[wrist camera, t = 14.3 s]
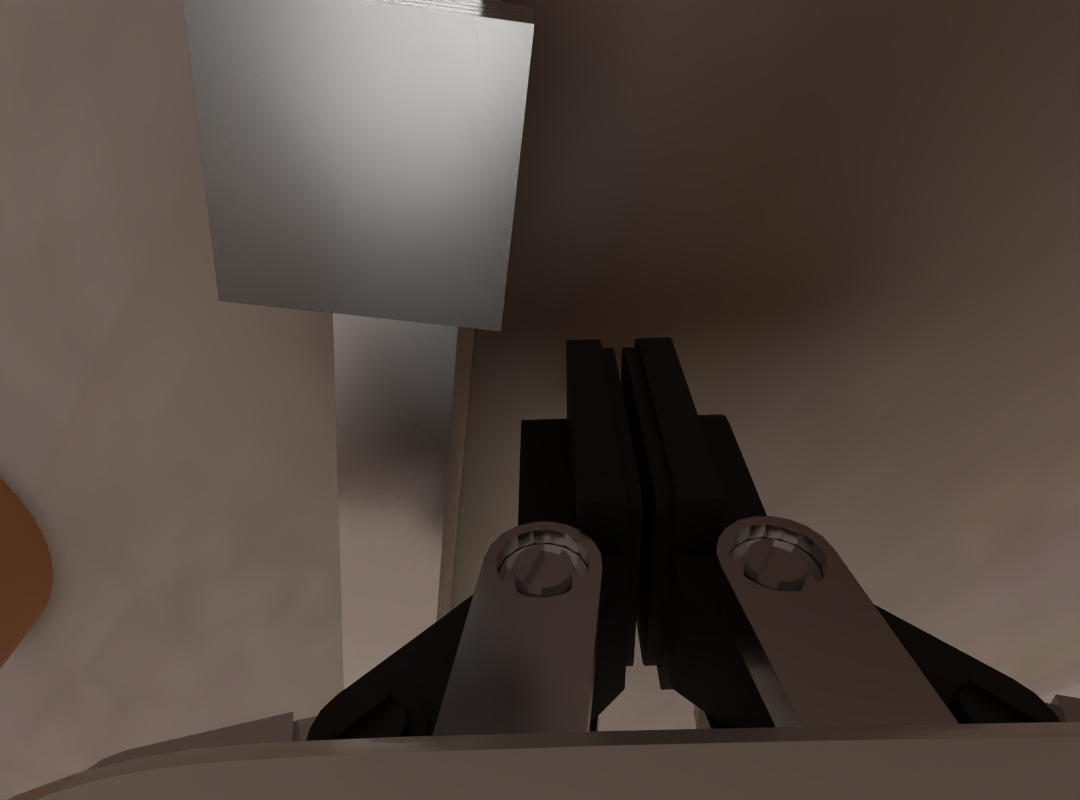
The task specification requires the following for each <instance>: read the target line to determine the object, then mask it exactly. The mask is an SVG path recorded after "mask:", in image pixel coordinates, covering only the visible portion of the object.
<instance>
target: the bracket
mask: <svg viewBox="0 0 1080 800" xmlns="http://www.w3.org/2000/svg"><path fill="white" fill-rule="evenodd" d="M52 579H53V572H52V563H51V558H50V554H49V550H48V547H47V544H46V542H45V540H44V537H43V535H42V533H41V531H40V529H39V527H38V525H37V524H36V522H35V520H34V518H33V517H32V515H31V514H30V513H29V511H28V510H27V508H26V507H25V506H24V504H23V503H22V501H21V500H20V499H19V498H18V497H17V496H16V495H15V493H14V492H13V491H12V490H11V489H10V488H9V486H7V485H6V484H5V483H4V482H3V481H2V480H1V479H0V669H1V667H2V666H3V665H4V663H5V662H6V660H7V659H8V658H9V656H10V655H11V654H12V652H13V651H14V650H15V648H16V647H17V646H18V644H19V643H20V642H21V640H22V639H23V637H24V636H25V635H26V633H27V632H28V631H29V629H30V628H31V627H32V625H33V624H34V623H35V621H36V620H37V619H38V617H39V616H40V614H41V613H42V611H43V610H44V609H45V606H46V604H47V602H48V600H49V597H50V593H51V589H52Z"/></svg>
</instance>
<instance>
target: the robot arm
mask: <svg viewBox="0 0 1080 800" xmlns="http://www.w3.org/2000/svg"><path fill="white" fill-rule="evenodd" d="M566 368H567V419H542V420H522V421H521V448H520V480H519V513H518V526H516V527H514V528H512V529H511V530H509V531H507V532H505V533H503V534H501V535H500V536H499V537H498V538H497V539H496V540H495V541H494V542H493V543H492V544H491V545H490V547H489V549H488V551H487V553H486V555H485V557H484V560H483V564H482V567H481V571H480V574H479V578H478V581H477V585H476V588H475V591H474V594H473V595H472V596H471V597H469V598H468V599H467V600H465V601H464V602H462V603H461V604H460V605H458V606H457V607H456V608H454V609H453V610H452V611H450V612H449V613H448V614H446V615H445V616H443V617H442V618H441V619H439V620H438V621H437V622H435V623H434V624H433V625H431V626H430V627H429V628H427V629H426V630H424V631H423V632H422V633H420V634H419V635H418V636H416V637H415V638H414V639H412V640H411V641H410V642H408V643H407V644H405V645H404V646H403V647H401V648H400V649H399V650H397V651H396V652H395V653H393V654H392V655H391V656H389V657H388V658H386V659H385V660H384V661H382V662H381V663H380V664H378V665H377V666H376V667H374V668H373V669H372V670H370V671H369V672H367V673H366V674H365V675H363V676H362V677H361V678H359V679H358V680H357V681H355V682H354V683H353V684H351V685H350V686H348V687H347V688H346V689H344V690H343V691H342V692H340V693H339V694H338V695H336V696H335V697H334V698H333V699H332V700H331V701H330V702H329V703H328V704H327V705H326V706H325V707H324V708H323V709H322V710H321V711H320V713H319V714H318V716H314V717H310V718H306V719H302V720H296V717H295V715H294V712H290V713H286V714H281V715H277V716H273V717H268V718H264V719H260V720H255V721H251V722H247V723H242V724H238V725H234V726H229V727H225V728H221V729H216V730H212V731H208V732H203V733H199V734H195V735H190V736H186V737H182V738H177V739H173V740H169V741H164V742H160V743H156V744H151V745H147V746H143V747H138V748H134V749H130V750H126V751H123V752H120V753H118V754H115V755H113V756H110V757H107V758H105V759H102V760H101V761H99V762H98V763H96V764H95V765H93V766H92V767H90V768H89V769H88V770H86V771H84V772H80V773H76V774H73V775H70V776H67V777H65V778H62V779H59V780H57V781H54V782H51V783H48V784H46V785H43V786H40V787H38V788H35V789H32V790H29V791H27V792H24V793H21V794H19V795H16V796H13V797H11V798H9V799H7V800H1080V698H1074V697H1068V696H1062V695H1055V697H1054V698H1053V700H1052V702H1051V704H1049V703H1045V702H1044V701H1042V700H1041V699H1040V698H1039V697H1038V696H1037V695H1036V694H1035V693H1034V692H1032V691H1031V690H1029V689H1028V688H1026V687H1024V686H1023V685H1021V684H1020V683H1018V682H1017V681H1015V680H1014V679H1012V678H1010V677H1008V676H1006V675H1005V674H1003V673H1001V672H999V671H997V670H995V669H993V668H992V667H990V666H988V665H986V664H984V663H982V662H980V661H978V660H977V659H975V658H973V657H971V656H969V655H967V654H965V653H964V652H962V651H960V650H958V649H956V648H954V647H952V646H951V645H949V644H947V643H945V642H943V641H941V640H939V639H937V638H936V637H934V636H932V635H930V634H928V633H926V632H924V631H923V630H921V629H919V628H917V627H915V626H913V625H911V624H909V623H908V622H906V621H904V620H902V619H900V618H898V617H896V616H895V615H893V614H891V613H889V612H887V611H885V610H883V609H882V608H880V607H878V606H876V605H874V604H873V603H872V601H871V600H870V598H869V597H868V596H867V594H866V593H865V591H864V590H863V589H862V587H861V586H860V584H859V583H858V582H857V580H856V579H855V577H854V576H853V575H852V573H851V572H850V570H849V569H848V568H847V566H846V565H845V563H844V562H843V561H842V559H841V558H840V556H839V555H838V554H837V552H836V551H835V549H834V548H833V547H832V546H831V545H830V544H829V543H828V542H827V541H826V540H825V539H824V537H823V536H821V535H820V534H818V533H817V532H815V531H814V530H812V529H810V528H809V527H807V526H805V525H802V524H800V523H797V522H795V521H792V520H790V519H784V518H779V517H773V516H767V515H766V513H765V510H764V508H763V505H762V503H761V500H760V498H759V495H758V493H757V490H756V488H755V485H754V483H753V481H752V478H751V476H750V473H749V471H748V468H747V466H746V463H745V461H744V458H743V456H742V453H741V451H740V449H739V446H738V444H737V441H736V439H735V436H734V434H733V431H732V429H731V426H730V424H729V422H728V420H727V418H726V416H724V415H698V414H697V411H696V409H695V406H694V403H693V400H692V397H691V394H690V391H689V388H688V385H687V383H686V380H685V377H684V374H683V371H682V368H681V365H680V362H679V359H678V357H677V354H676V351H675V348H674V345H673V342H672V340H671V338H638V339H636V340H635V345H634V347H630V348H623V350H622V366H621V383H620V378H619V373H618V367H617V362H616V357H615V352H614V348H602V347H601V341H600V340H568V341H566ZM636 621H637V628H638V635H639V641H640V648H641V655H642V661H643V664H644V666H651V665H657V670H658V676H659V682H660V688H661V690H664V689H674V690H675V691H677V692H678V693H679V694H681V695H682V696H684V697H685V698H686V699H688V700H689V701H690V702H692V703H693V704H694V717H695V723H696V727H697V729H682V730H639V731H598V727H599V714H600V713H601V712H602V711H603V710H604V709H605V708H606V707H607V706H608V705H609V704H610V703H611V702H612V701H613V700H614V699H615V698H616V697H617V696H618V695H619V694H620V693H621V692H622V691H623V690H624V689H625V671H626V666H633V662H634V647H635V631H636Z"/></svg>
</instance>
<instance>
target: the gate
mask: <svg viewBox="0 0 1080 800" xmlns="http://www.w3.org/2000/svg"><path fill="white" fill-rule="evenodd" d="M183 8H184V16H185V24H186V32H187V41H188V49H189V57H190V65H191V74H192V82H193V90H194V98H195V106H196V115H197V123H198V131H199V139H200V148H201V156H202V164H203V172H204V181H205V189H206V197H207V205H208V214H209V222H210V230H211V238H212V247H213V255H214V263H215V271H216V280H217V288H218V296H219V301H226V302H236V303H245V304H254V305H263V306H272V307H282V308H291V309H300V310H309V311H318V312H327V313H333V336H334V369H335V403H336V436H337V470H338V503H339V537H340V570H341V604H342V637H343V671H344V689H346V688H347V687H348V686H350V685H351V684H353V683H354V682H355V681H357V680H358V679H359V678H361V677H362V676H363V675H365V674H366V673H367V672H369V671H370V670H372V669H373V668H374V667H376V666H377V665H378V664H380V663H381V662H382V661H384V660H385V659H386V658H388V657H389V656H391V655H392V654H393V653H395V652H396V651H397V650H399V649H400V648H401V647H403V646H404V645H405V644H407V643H408V642H410V641H411V640H412V639H414V638H415V637H416V636H418V635H419V634H420V633H422V632H423V631H424V630H426V629H427V628H429V627H430V626H431V625H433V624H434V623H435V622H437V621H438V620H439V619H441V618H442V617H443V616H445V615H446V614H448V613H449V612H450V609H451V598H452V586H453V575H454V563H455V552H456V540H457V529H458V517H459V506H460V494H461V483H462V471H463V460H464V448H465V437H466V425H467V414H468V402H469V391H470V379H471V368H472V356H473V345H474V333H475V329H484V330H493V331H501V326H502V317H503V308H504V298H505V289H506V280H507V271H508V262H509V253H510V243H511V234H512V225H513V216H514V207H515V197H516V188H517V179H518V170H519V161H520V151H521V142H522V133H523V124H524V115H525V105H526V96H527V87H528V78H529V69H530V59H531V50H532V41H533V32H534V6H527V5H520V4H513V3H506V2H503V0H183Z"/></svg>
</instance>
